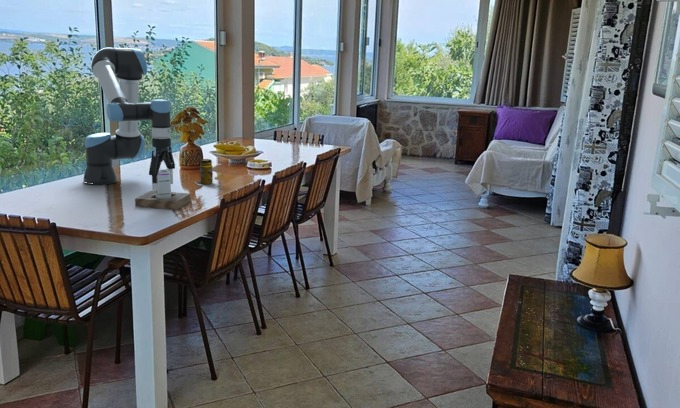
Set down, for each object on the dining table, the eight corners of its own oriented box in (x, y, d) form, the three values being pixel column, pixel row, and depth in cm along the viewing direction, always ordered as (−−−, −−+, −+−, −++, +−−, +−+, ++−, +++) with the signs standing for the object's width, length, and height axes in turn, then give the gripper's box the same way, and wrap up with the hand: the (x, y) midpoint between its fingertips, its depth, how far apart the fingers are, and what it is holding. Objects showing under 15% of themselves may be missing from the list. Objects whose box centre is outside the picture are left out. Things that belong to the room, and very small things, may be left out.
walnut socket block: (135, 206, 248) (135, 198, 247) (151, 198, 262) (151, 190, 261) (176, 209, 245) (176, 201, 245) (190, 201, 260) (190, 193, 259)
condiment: (215, 184, 294) (215, 160, 291) (199, 185, 290) (198, 161, 287) (210, 181, 300) (209, 158, 297) (193, 182, 296) (193, 159, 293)
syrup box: (171, 205, 253) (170, 171, 249) (157, 206, 250) (156, 172, 246) (169, 201, 257) (168, 169, 254) (155, 202, 255) (154, 169, 251)
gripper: (156, 142, 234) (158, 194, 240) (182, 134, 258) (183, 181, 264) (138, 140, 235) (140, 192, 241) (165, 133, 259) (167, 180, 265)
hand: (162, 187), depth 252 cm, fingers open, 13 cm apart
